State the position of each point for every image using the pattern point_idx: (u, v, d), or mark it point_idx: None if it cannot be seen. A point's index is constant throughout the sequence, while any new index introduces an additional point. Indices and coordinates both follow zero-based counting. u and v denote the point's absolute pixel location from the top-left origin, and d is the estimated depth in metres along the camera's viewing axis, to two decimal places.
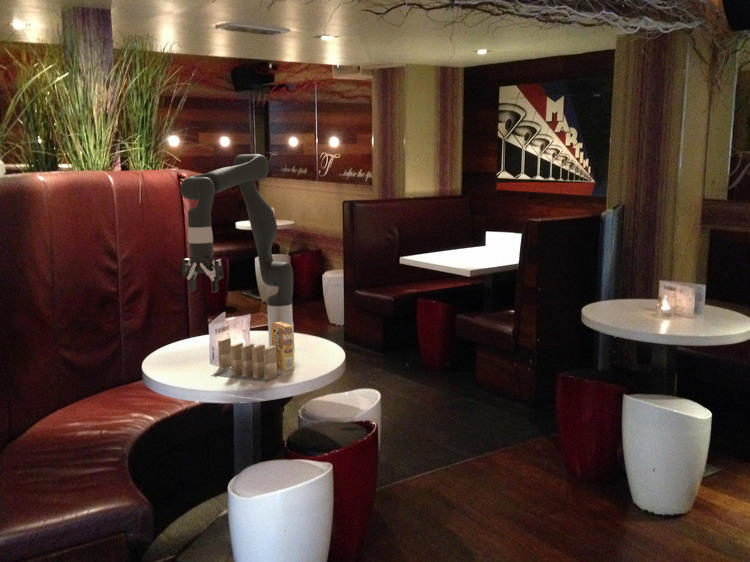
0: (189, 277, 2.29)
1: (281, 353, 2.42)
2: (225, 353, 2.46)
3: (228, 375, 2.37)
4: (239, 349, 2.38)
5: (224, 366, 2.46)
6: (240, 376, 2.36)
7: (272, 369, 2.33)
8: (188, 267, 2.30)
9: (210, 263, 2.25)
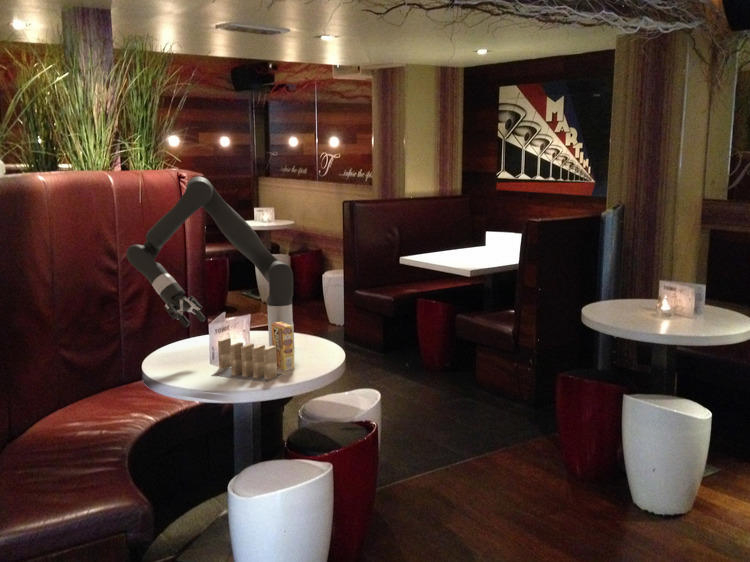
0: None
1: (281, 353, 2.42)
2: (225, 353, 2.46)
3: (228, 375, 2.37)
4: (239, 349, 2.38)
5: (224, 366, 2.46)
6: (240, 376, 2.36)
7: (272, 369, 2.33)
8: (194, 303, 2.57)
9: None
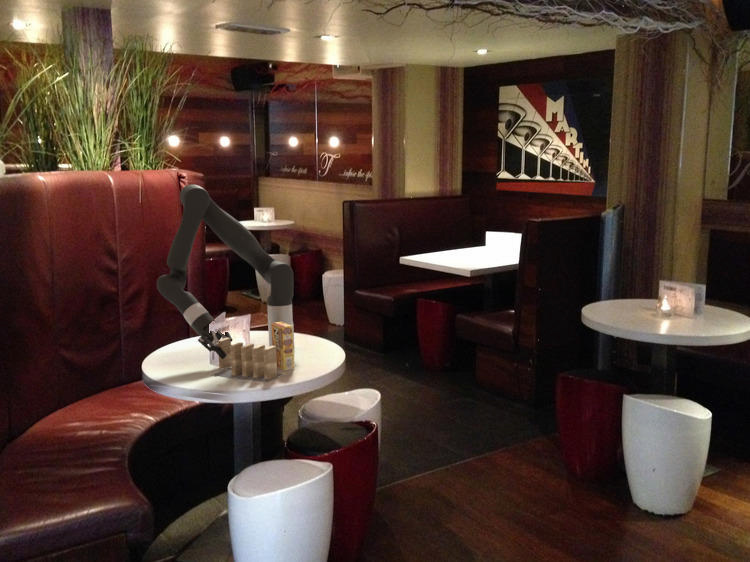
0: None
1: (281, 353, 2.42)
2: None
3: (228, 375, 2.37)
4: (239, 349, 2.38)
5: (224, 366, 2.46)
6: (240, 376, 2.36)
7: (272, 369, 2.33)
8: (225, 335, 2.53)
9: None
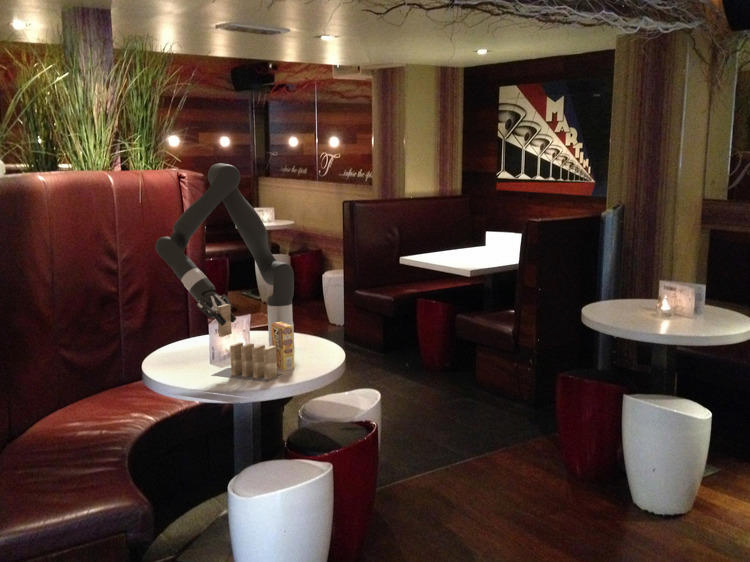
0: None
1: (281, 353, 2.42)
2: None
3: (228, 375, 2.37)
4: (239, 349, 2.38)
5: (223, 333, 2.37)
6: (240, 376, 2.36)
7: (272, 369, 2.33)
8: (224, 302, 2.43)
9: None
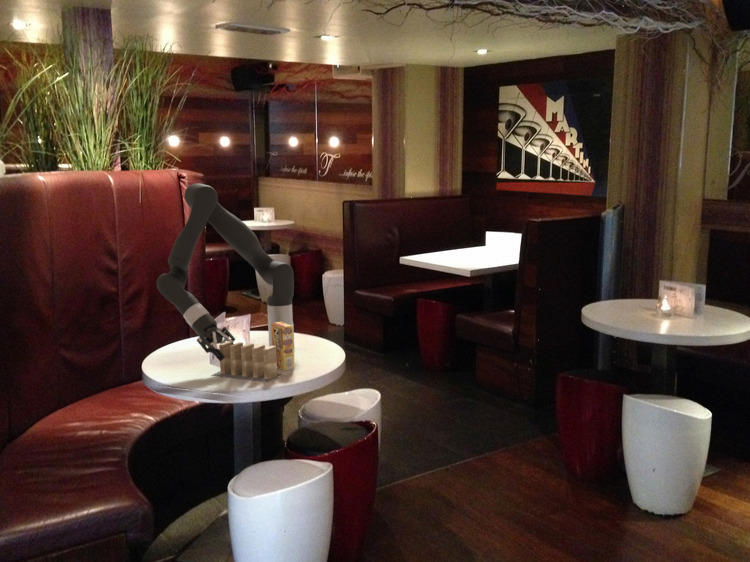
0: None
1: (281, 353, 2.42)
2: (226, 357, 2.39)
3: (228, 375, 2.37)
4: (239, 349, 2.38)
5: (225, 371, 2.39)
6: (240, 376, 2.36)
7: (272, 369, 2.33)
8: (226, 335, 2.46)
9: None
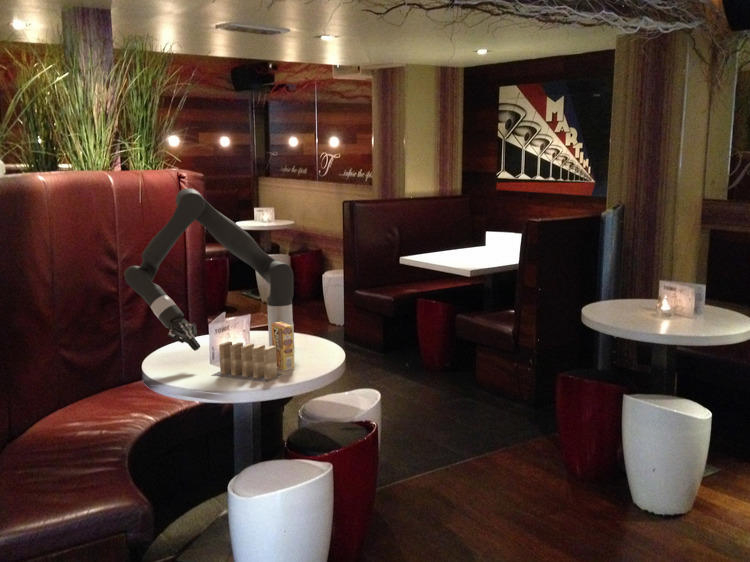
0: None
1: (281, 353, 2.42)
2: (226, 357, 2.39)
3: (228, 375, 2.37)
4: (239, 349, 2.38)
5: (225, 371, 2.39)
6: (240, 376, 2.36)
7: (272, 369, 2.33)
8: (192, 329, 2.49)
9: None
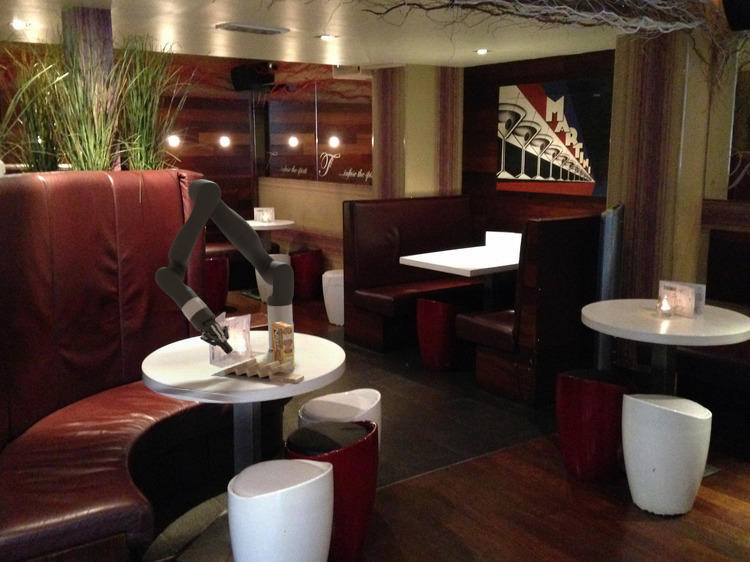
0: None
1: (281, 353, 2.42)
2: None
3: (228, 375, 2.37)
4: None
5: (228, 373, 2.38)
6: (240, 376, 2.36)
7: None
8: (223, 332, 2.44)
9: None
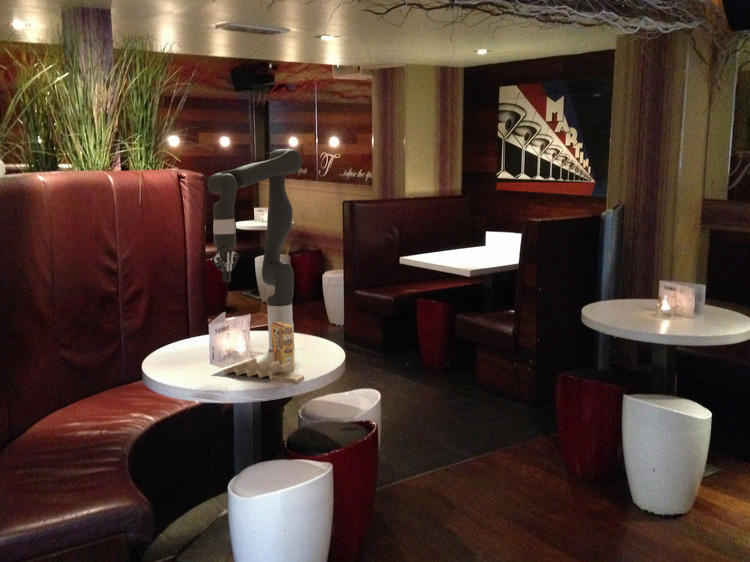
0: None
1: (281, 353, 2.42)
2: None
3: (228, 375, 2.37)
4: None
5: (228, 373, 2.38)
6: (240, 376, 2.36)
7: None
8: (233, 259, 2.52)
9: None
